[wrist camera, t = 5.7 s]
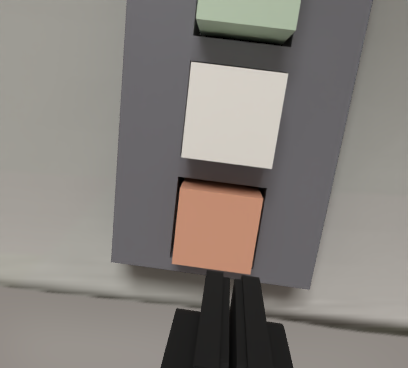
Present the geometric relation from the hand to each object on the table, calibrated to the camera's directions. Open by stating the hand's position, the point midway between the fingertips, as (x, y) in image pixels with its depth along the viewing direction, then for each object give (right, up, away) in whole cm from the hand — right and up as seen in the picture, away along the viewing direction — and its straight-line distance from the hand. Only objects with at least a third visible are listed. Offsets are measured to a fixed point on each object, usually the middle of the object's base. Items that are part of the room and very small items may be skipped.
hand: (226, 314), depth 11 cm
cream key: (+1, +8, +8) cm, 12 cm away
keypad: (+1, +8, +10) cm, 13 cm away
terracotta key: (0, +2, +11) cm, 11 cm away
